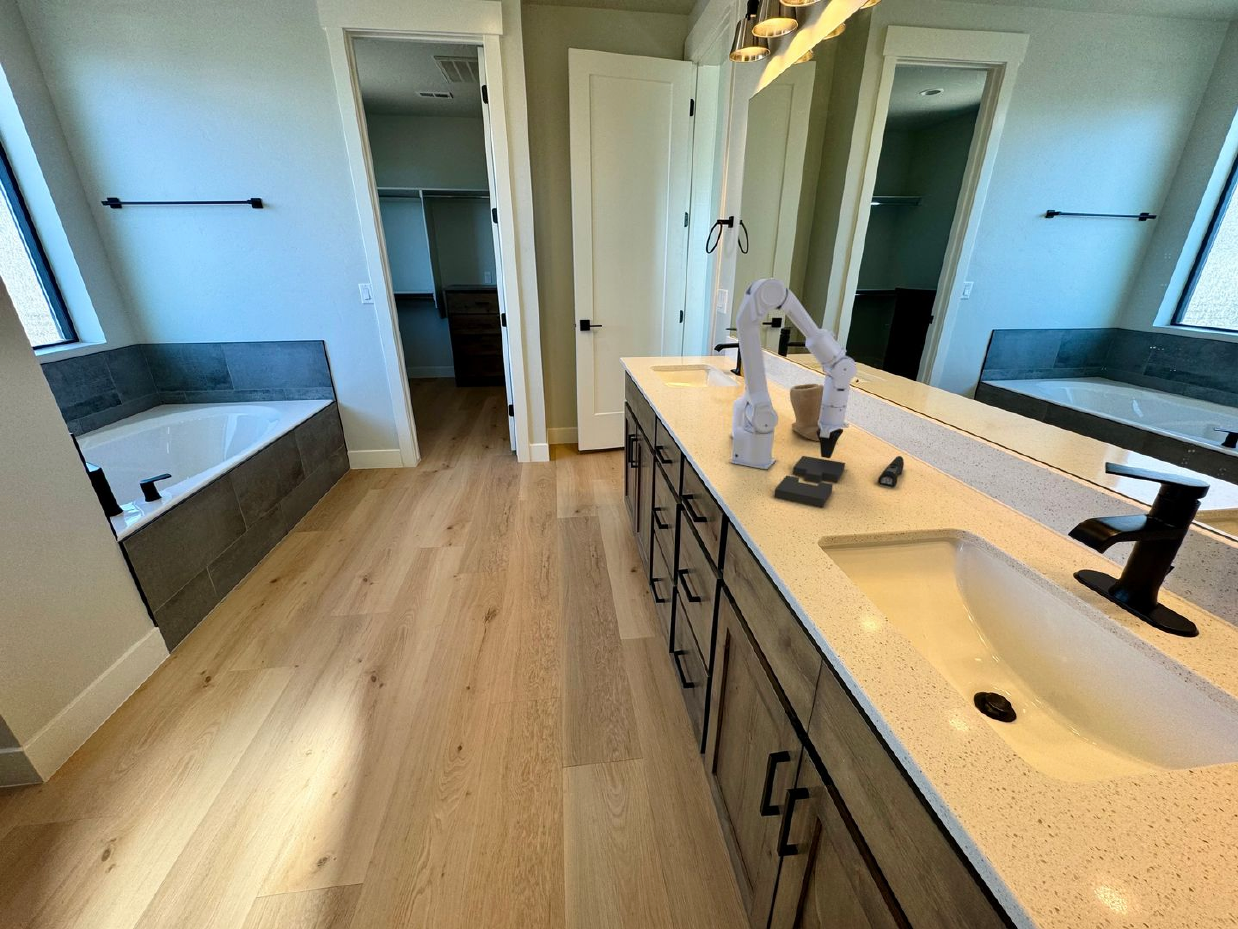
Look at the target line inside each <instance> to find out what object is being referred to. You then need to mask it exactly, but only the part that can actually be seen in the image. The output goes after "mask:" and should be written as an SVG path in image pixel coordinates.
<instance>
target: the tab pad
mask: <svg viewBox="0 0 1238 929" xmlns="http://www.w3.org/2000/svg"><path fill="white" fill-rule="evenodd" d="M845 467H846V463H845V462H842V461H835V460H832V459H831V460H830V459H826V458H825V459H824V458H819V457H814V456H813V457H812V456H806V455H802V456H801V457H800V458H799V459H798V460H797V462H796V463H795V464H794V466H793V467H792V475H793V476H796V477H803V478H804V482H809V483H815V484H818V483H819V482H823V481H825V482H828V483H829V482H830V483H834V484H838V482H839V480H840V479H841V477H842V475H843V473H844V471H845Z"/></svg>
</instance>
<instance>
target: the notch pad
mask: <svg viewBox="0 0 1238 929" xmlns="http://www.w3.org/2000/svg"><path fill="white" fill-rule="evenodd" d="M799 480H800V477H799V476H794V475H793V476H791V475H785V476H784V477H783V479H782V480H781V481H780V483H778V485H777V486H776V488H774V494H773V495H774V496H773V498H775V499H780V500H783V501H789V502H793V503H797V504H803V505H806V506H811V507H816V508H821V509H823V508H824V507H825V505H826V503H827V501H828V500H829V498H830V497H831V495H832V493H833V487H834V485H833V483H829V482H823V481H821V482H819V483H817V484H811V483H805V482H800V481H799Z"/></svg>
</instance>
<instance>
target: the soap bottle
mask: <svg viewBox="0 0 1238 929" xmlns="http://www.w3.org/2000/svg"><path fill="white" fill-rule="evenodd" d="M740 362H741V363H740V376H741V377H742V378H743V379H744V380H745V378H744V372H743V365H742V360H740ZM746 393H747V391H746V386H744V394H743V395H741V396H739V397H738V398H736V399H735V400H734V401H733V403H732V404H733V405H732V419H731V432H730V433H731V434H730V435H731V438H733V437H734V433H735V430H736V428H737V427H738V426H743V427H744V426H745V424H746V422H747V421H748V420H747V419H746V417H745V415H744V408H745V406H746Z"/></svg>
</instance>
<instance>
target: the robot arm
mask: <svg viewBox="0 0 1238 929" xmlns="http://www.w3.org/2000/svg"><path fill="white" fill-rule="evenodd" d="M774 310H775V311H778V312H780V313H783V314H785V315H786V317H787V318H788V319H789V320H790V321H791V323H793V325H794V326H795V327H796V328H797V329H798V330H799V332H800V333H802V335H803V336H804V337H805V343H804V344H805V346H804V347H805V348H806V349H807V350H808V352H809V353H810V354H811V355H812V356H813V357H814V359H815V360H816V361H817V362H818V364H819V365H820V366H821V370H822V372H823V373H824V374H825V377H824V383H823V386H824V389H823V396H822V403H821V410H820V417H819V420H818V425H819V427H820V428H819V429H818V430H817V436H818V438H819V441H818V442H819V446H820V447H819V448H820V456H821V458H823V459H824V458H825V459H831V457H832V456H833V454H834V450H835V449H836V445H837V443H838V440H839V438H840V437H841V435H842V434H843V433H844V428H846V429H847V428H849V427H850V423H848V422H845V419H846V414H847V413H846V412H847V407H848V400H849V393H850V386H851V382H852V379H854V377H855V376H856V374H857V373H858V368H857V366H856V365H857V363H856V362H855V360H854V358H853V357H852V358H851V357H850V356H848V355H846V353H847V350H846V348H845V347H841V345H840V344H839V343H838V342H837V340H836V339H835V337H836V334H835V333H834V331H831V330H828V329H826V328H819V327H818V326H817V324H816V323H815V321H814V320H813V319H812V317H811V316H810V315H809V313H808V312H807V310H806V309H805V308H804V306H803V304H802V303H801V302H800V300H799V299H798V298H797V297H796V295H795V294H794V293H793V291H792V290H791V289H790V288H789V287H786V285H785V283H784V282H783V281H782V280H781V279H779V278H776V277H771V278H767V277H759V278H757V279H755V280H754V281H753V282H751V284H750V285H749V286H748V287H747V289H746V290H745V291H744V294H743V298H742V301H741V304H740V306H739V308H738V311H737V314H736V316H735V328H736V333H737V340H738V345H739V352H740V358H741V361H742V365H743V372H744V378H745V379H744V378H743V379H744V384H745V387H746V391H747V393H746V406H745V408H744V415H745V417H746V419H747V420H748V421H747V422H746V424H745V426H744V427H743V426H738V427H737V428H736V430H735V433H734V437H732V447H731V448H732V450H731V459H730V463H731V464H735V465H740V466H744V467H745V466H746V467H751V468H754V469H755V468H756V469H762V470H768V469H769V468H770V467H771V466H772V465H773V464H774V463H775V462H776V461H777V458H776V457H772V456H773V448H774V436H775V428H776V427H777V425H778V423H779V415H778V413H777V411H776V410H775V409H774V407H773V401H772V397H771V396H770V393H769V389H768V382H767V375H766V368H765V367H766V366H765V361H764V353H763V346H762V340H761V339H762V338H761V333H760V327H759V325H760V324H761V323H762V321H763V320H764V319H765V318H766V317H767V316H768V315H769V313H771V312H772V311H774Z"/></svg>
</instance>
